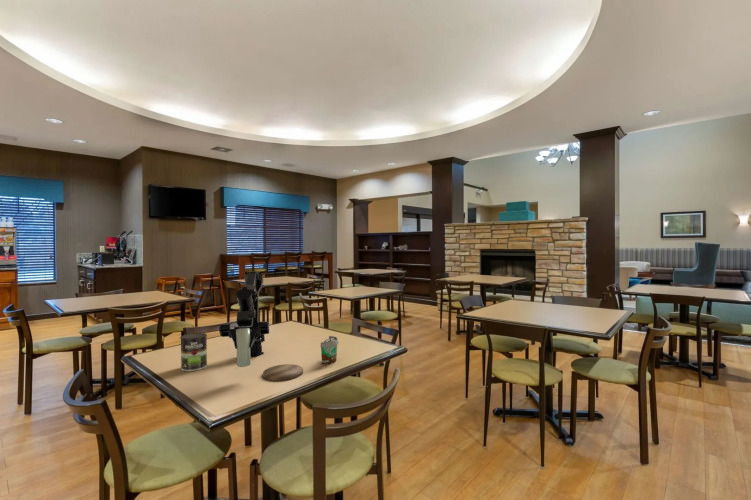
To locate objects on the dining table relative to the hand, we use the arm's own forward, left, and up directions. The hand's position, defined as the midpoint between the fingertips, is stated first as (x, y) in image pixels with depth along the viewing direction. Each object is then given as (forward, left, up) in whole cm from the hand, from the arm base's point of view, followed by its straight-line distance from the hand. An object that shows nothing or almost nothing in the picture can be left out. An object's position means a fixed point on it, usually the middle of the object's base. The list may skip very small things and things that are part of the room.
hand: (243, 347), depth 139 cm
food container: (+17, +36, -14) cm, 42 cm away
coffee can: (-33, +3, -14) cm, 36 cm away
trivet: (+8, +14, -13) cm, 21 cm away
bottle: (-1, +1, -7) cm, 7 cm away
